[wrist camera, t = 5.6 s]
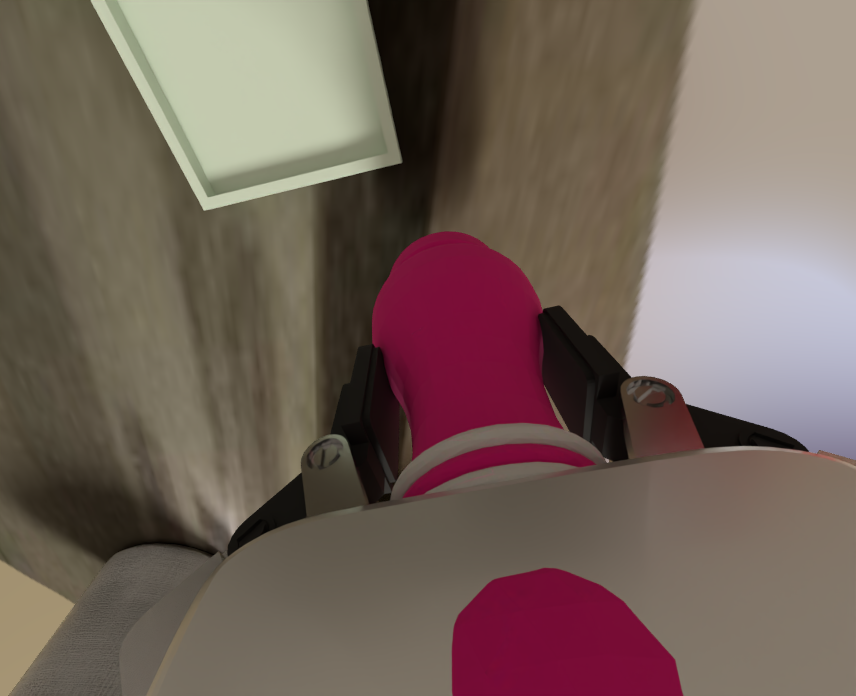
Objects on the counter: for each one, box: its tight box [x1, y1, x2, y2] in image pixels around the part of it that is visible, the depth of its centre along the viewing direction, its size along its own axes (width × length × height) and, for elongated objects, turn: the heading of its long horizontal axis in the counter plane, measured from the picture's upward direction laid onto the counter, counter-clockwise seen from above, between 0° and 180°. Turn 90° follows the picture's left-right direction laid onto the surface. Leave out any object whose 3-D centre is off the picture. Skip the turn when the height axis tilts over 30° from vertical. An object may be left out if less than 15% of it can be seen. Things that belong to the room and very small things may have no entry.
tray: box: [91, 0, 403, 211], centre depth 16 cm, size 12×12×2 cm
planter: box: [8, 543, 213, 696], centre depth 38 cm, size 16×16×16 cm
